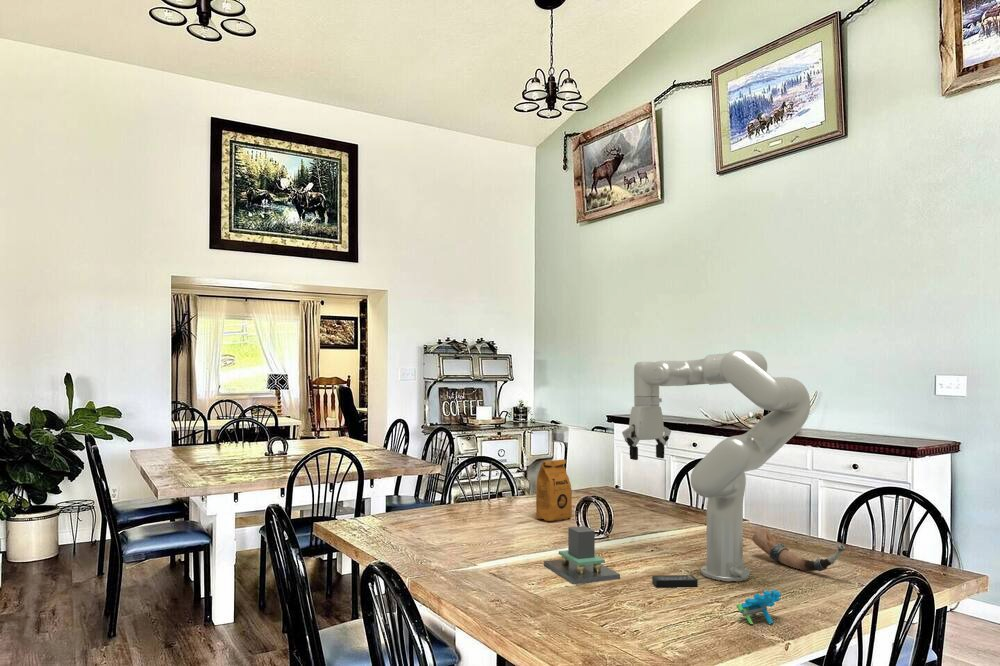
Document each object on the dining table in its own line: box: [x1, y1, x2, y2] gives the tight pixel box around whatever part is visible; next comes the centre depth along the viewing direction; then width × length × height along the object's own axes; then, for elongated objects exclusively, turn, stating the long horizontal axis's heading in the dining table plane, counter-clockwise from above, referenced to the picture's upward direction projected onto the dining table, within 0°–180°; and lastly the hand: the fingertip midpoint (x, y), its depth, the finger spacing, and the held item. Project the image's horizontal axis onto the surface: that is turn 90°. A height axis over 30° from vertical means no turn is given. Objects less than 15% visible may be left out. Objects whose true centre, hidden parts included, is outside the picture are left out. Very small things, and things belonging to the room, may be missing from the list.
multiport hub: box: [651, 574, 699, 589], centre depth 181 cm, size 4×11×2 cm, turn 94°
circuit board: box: [558, 525, 606, 566], centre depth 191 cm, size 12×8×8 cm, turn 21°
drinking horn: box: [751, 528, 846, 572], centre depth 197 cm, size 6×30×10 cm, turn 28°
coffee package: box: [535, 458, 573, 522], centre depth 256 cm, size 10×12×22 cm
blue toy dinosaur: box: [735, 589, 782, 625], centre depth 155 cm, size 11×6×10 cm
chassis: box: [543, 556, 621, 585], centre depth 191 cm, size 18×14×4 cm
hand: (647, 458), depth 209 cm, fingers open, 9 cm apart
